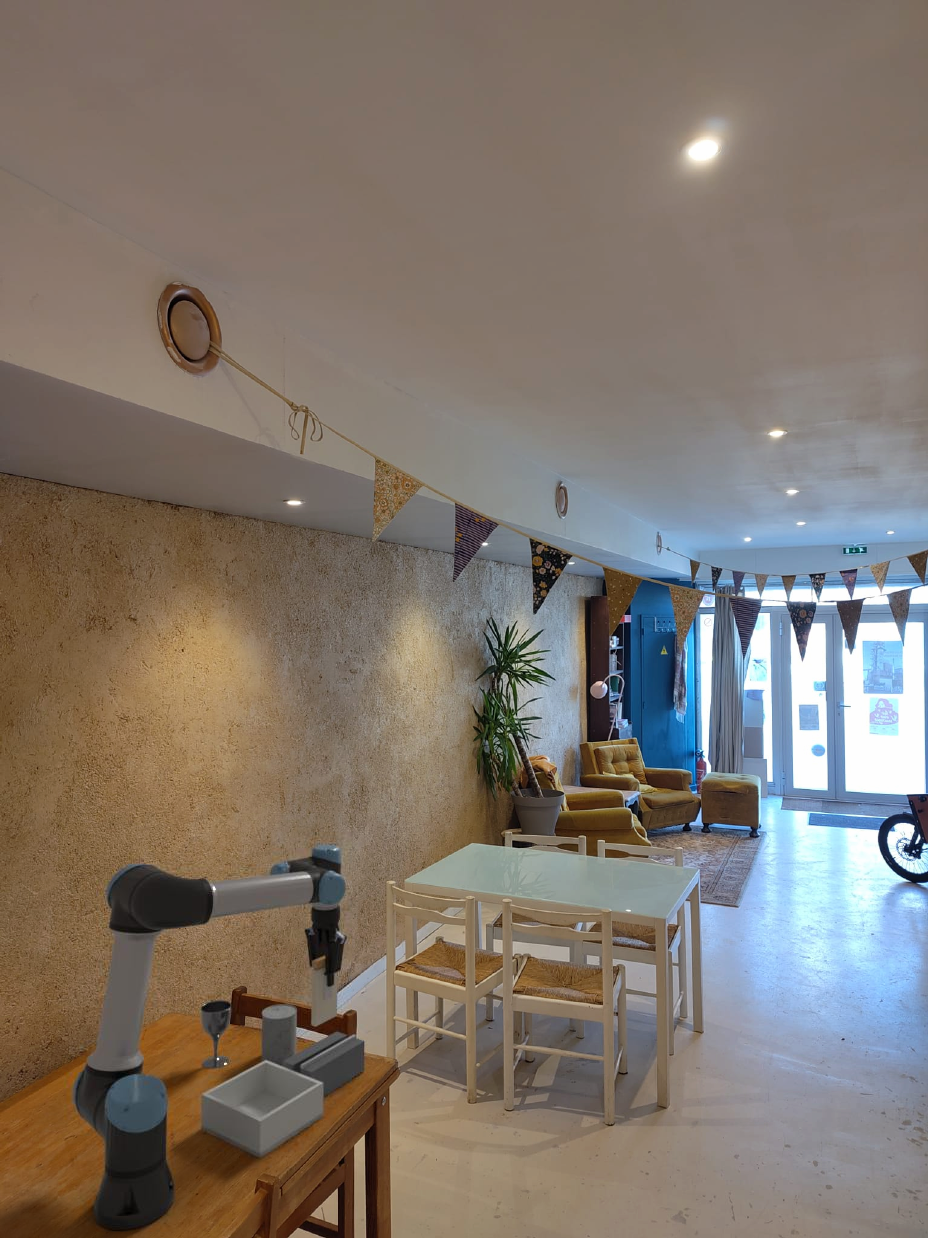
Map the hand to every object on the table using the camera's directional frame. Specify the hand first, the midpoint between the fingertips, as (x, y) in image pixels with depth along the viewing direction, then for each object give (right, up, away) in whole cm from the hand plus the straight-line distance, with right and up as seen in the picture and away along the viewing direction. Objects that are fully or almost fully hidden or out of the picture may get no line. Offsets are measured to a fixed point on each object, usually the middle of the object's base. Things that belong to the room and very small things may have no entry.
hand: (324, 997), depth 217 cm
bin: (-11, -21, -20) cm, 31 cm away
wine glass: (-31, -22, +10) cm, 40 cm away
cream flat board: (0, -6, 0) cm, 6 cm away
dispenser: (0, -22, -1) cm, 22 cm away
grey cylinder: (-15, -23, +13) cm, 30 cm away
